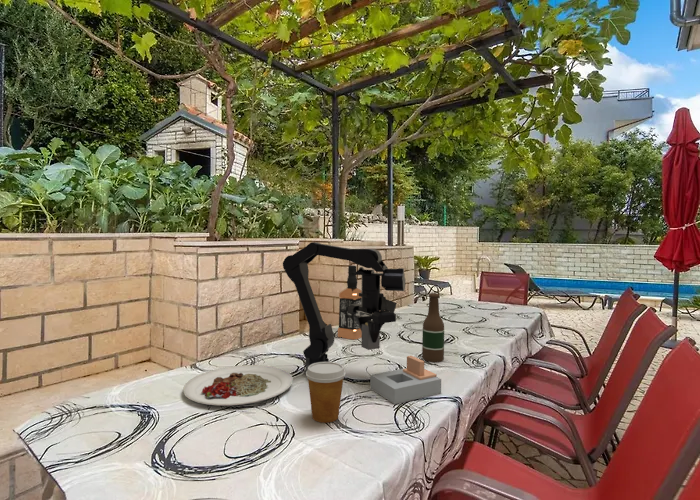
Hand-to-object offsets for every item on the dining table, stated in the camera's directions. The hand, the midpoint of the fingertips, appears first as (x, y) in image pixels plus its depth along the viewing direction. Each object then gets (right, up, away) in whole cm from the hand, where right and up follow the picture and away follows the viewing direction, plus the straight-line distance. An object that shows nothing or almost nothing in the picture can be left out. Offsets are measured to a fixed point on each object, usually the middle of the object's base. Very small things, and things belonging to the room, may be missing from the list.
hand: (370, 340), depth 115 cm
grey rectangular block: (0, -2, 0) cm, 2 cm away
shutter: (+14, -8, -5) cm, 17 cm away
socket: (+10, -12, -8) cm, 17 cm away
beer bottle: (+24, -12, +22) cm, 35 cm away
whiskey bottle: (-5, -11, +55) cm, 56 cm away
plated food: (-38, -12, -7) cm, 40 cm away
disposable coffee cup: (-12, -13, -24) cm, 30 cm away
